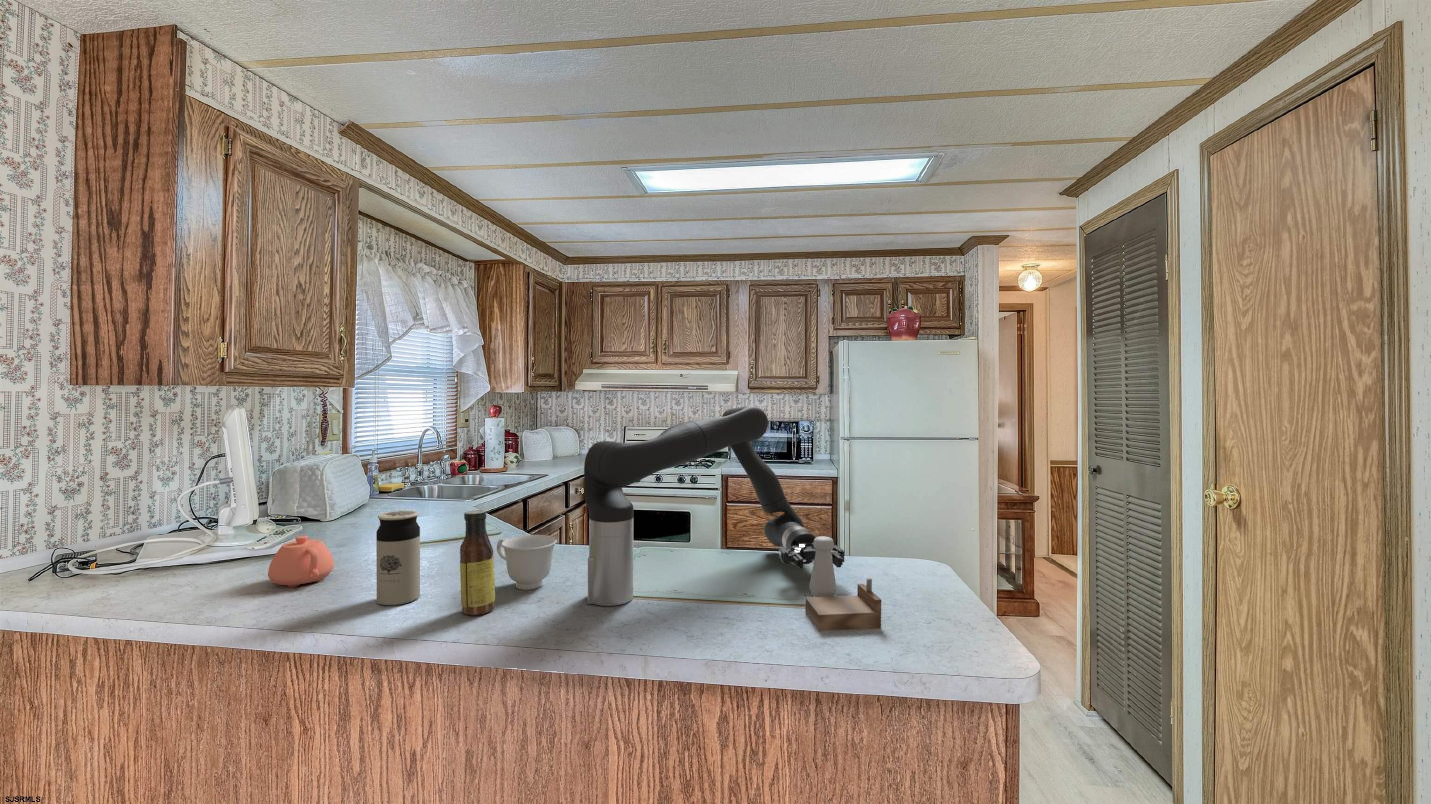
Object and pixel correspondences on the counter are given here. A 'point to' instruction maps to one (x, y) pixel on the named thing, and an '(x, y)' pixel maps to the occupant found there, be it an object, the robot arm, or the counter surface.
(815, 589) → the salt shaker
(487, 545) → the sauce bottle
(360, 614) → the counter surface
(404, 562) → the travel mug
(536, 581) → the teacup
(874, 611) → the wooden stand
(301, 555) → the sugar bowl
